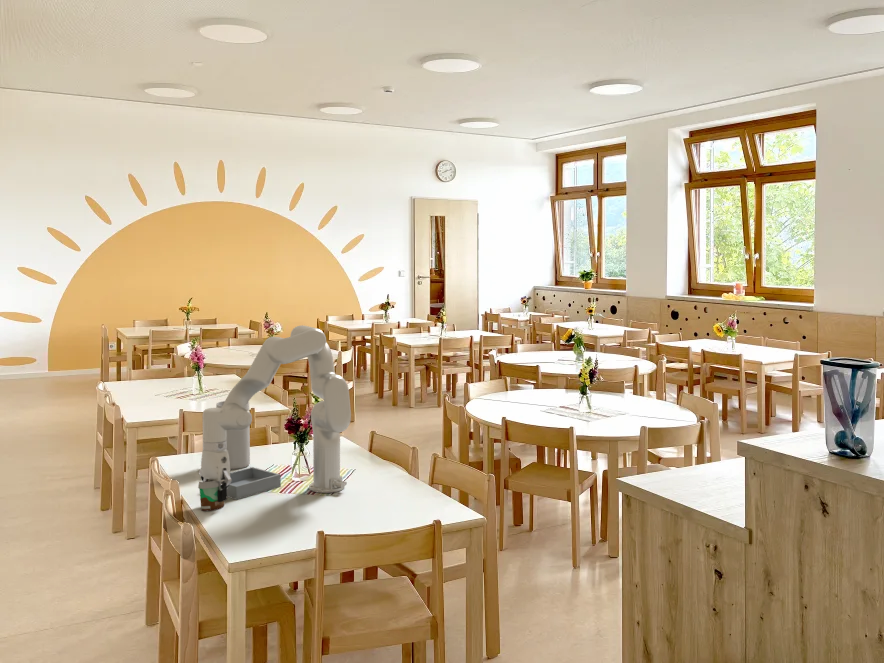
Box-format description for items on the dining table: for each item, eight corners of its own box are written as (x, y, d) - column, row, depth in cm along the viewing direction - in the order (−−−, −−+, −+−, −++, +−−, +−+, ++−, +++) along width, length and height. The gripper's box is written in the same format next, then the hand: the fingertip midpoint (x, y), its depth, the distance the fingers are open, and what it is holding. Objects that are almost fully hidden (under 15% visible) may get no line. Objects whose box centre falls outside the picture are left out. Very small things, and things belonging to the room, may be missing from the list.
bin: (280, 486, 285) (280, 474, 285) (236, 499, 269) (236, 486, 269) (252, 478, 294) (252, 466, 294) (208, 490, 279) (208, 478, 278)
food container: (216, 513, 255) (215, 483, 254) (198, 512, 256) (198, 482, 255) (234, 502, 266) (233, 473, 266) (218, 500, 268) (217, 472, 267)
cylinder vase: (256, 464, 314) (255, 402, 312) (232, 471, 304) (231, 407, 301) (235, 459, 321) (234, 399, 318) (210, 466, 311) (209, 403, 308)
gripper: (240, 448, 257) (241, 501, 259) (208, 439, 268) (208, 491, 269) (221, 452, 251) (222, 506, 253) (188, 443, 262) (189, 496, 263)
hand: (215, 498), depth 261 cm, fingers closed on food container, 6 cm apart
